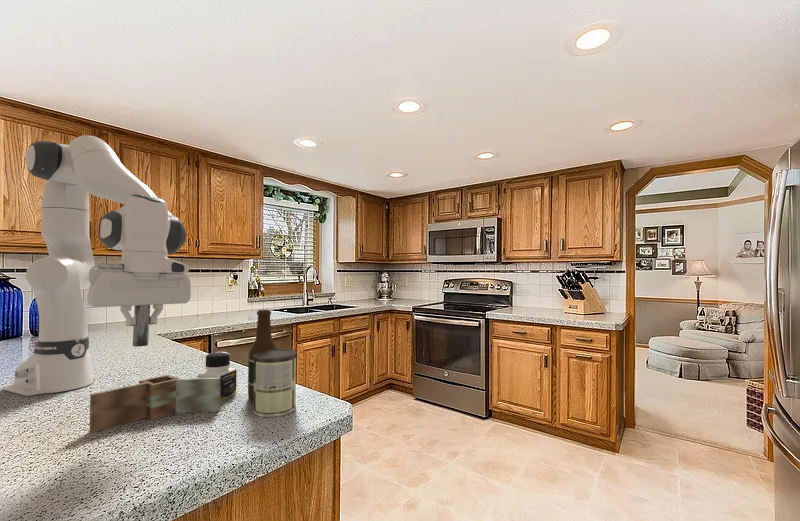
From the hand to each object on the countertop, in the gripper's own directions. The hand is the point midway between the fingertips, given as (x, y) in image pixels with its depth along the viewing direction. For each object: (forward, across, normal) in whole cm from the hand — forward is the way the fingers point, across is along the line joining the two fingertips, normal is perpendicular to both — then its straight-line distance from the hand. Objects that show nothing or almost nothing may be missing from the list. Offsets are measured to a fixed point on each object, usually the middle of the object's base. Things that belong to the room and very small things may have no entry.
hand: (141, 325), depth 90 cm
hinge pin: (+5, 0, 0) cm, 5 cm away
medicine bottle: (+22, +21, +3) cm, 31 cm away
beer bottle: (+22, +27, -8) cm, 36 cm away
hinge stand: (+22, +4, -1) cm, 23 cm away
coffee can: (+22, +24, -18) cm, 37 cm away
